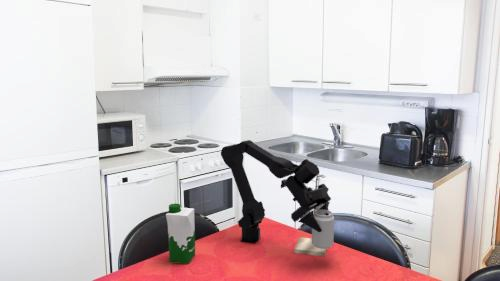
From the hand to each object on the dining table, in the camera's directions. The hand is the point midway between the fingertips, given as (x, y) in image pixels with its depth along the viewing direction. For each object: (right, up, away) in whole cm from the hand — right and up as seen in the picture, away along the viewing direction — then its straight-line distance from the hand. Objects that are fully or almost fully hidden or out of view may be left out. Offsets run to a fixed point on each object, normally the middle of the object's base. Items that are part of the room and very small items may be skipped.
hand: (326, 228), depth 137 cm
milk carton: (-50, -13, +8) cm, 53 cm away
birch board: (-3, -11, +15) cm, 19 cm away
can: (-1, -7, +2) cm, 7 cm away
